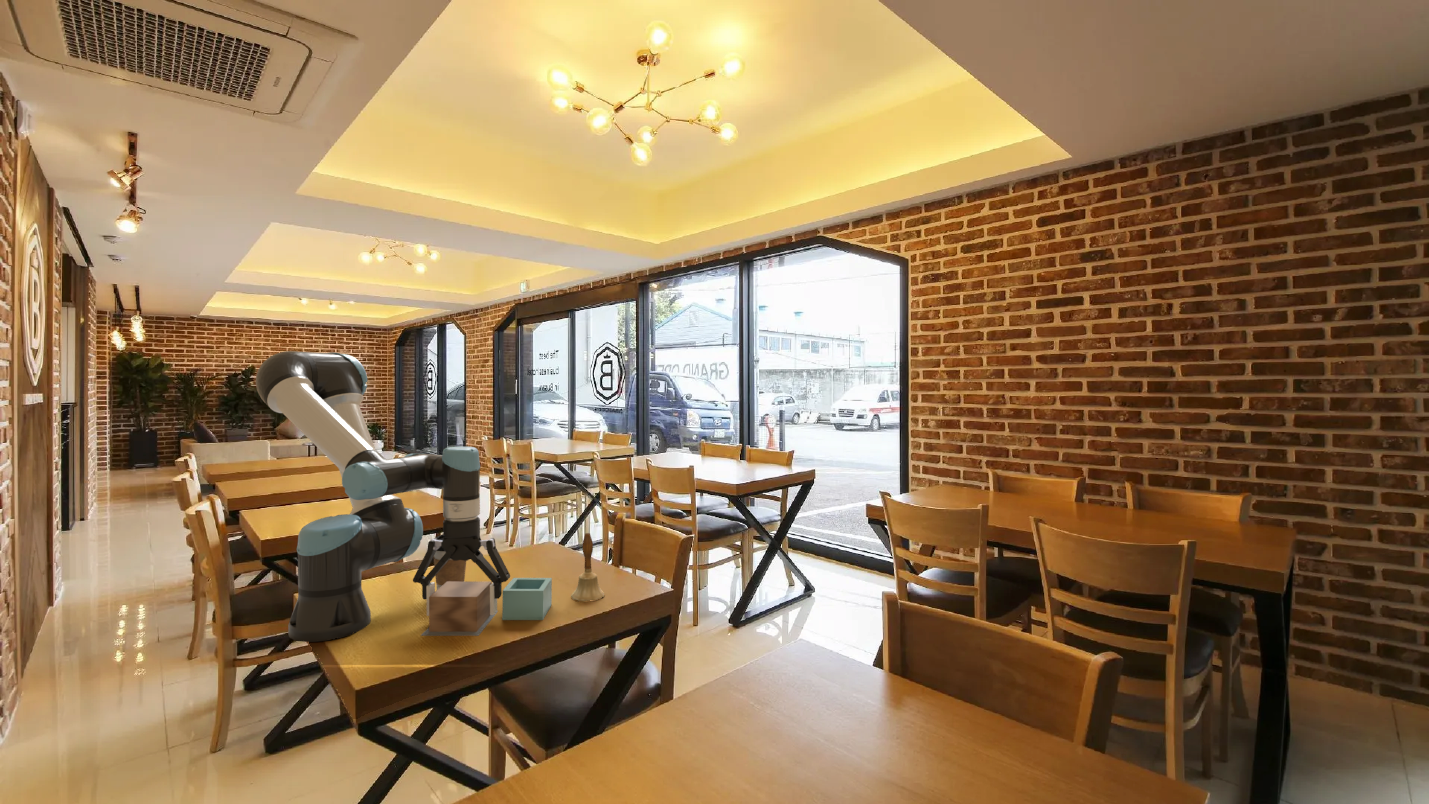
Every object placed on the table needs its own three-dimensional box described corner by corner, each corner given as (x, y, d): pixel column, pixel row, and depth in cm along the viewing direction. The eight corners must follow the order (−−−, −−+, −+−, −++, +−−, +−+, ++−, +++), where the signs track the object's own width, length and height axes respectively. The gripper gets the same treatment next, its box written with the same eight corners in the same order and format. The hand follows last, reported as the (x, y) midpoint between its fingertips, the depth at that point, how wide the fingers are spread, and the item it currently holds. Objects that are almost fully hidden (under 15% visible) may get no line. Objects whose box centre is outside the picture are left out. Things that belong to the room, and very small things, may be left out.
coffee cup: (474, 590, 160) (474, 532, 159) (457, 602, 151) (458, 541, 151) (443, 589, 161) (443, 531, 160) (424, 600, 152) (424, 539, 152)
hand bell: (586, 604, 152) (587, 539, 151) (564, 596, 157) (564, 533, 156) (611, 595, 158) (612, 533, 158) (589, 588, 163) (590, 527, 163)
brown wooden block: (429, 631, 133) (429, 596, 133) (446, 613, 143) (446, 581, 143) (476, 631, 134) (477, 596, 133) (491, 613, 144) (491, 581, 143)
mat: (420, 637, 131) (420, 635, 131) (445, 612, 145) (445, 610, 145) (478, 637, 132) (478, 635, 132) (498, 612, 146) (498, 610, 146)
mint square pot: (502, 621, 140) (502, 590, 140) (513, 606, 149) (513, 577, 149) (543, 621, 141) (543, 590, 140) (551, 606, 150) (551, 577, 149)
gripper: (395, 521, 133) (396, 620, 134) (514, 521, 134) (515, 618, 135) (411, 514, 141) (412, 607, 141) (523, 513, 142) (524, 606, 143)
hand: (462, 613), depth 138 cm, fingers open, 13 cm apart
